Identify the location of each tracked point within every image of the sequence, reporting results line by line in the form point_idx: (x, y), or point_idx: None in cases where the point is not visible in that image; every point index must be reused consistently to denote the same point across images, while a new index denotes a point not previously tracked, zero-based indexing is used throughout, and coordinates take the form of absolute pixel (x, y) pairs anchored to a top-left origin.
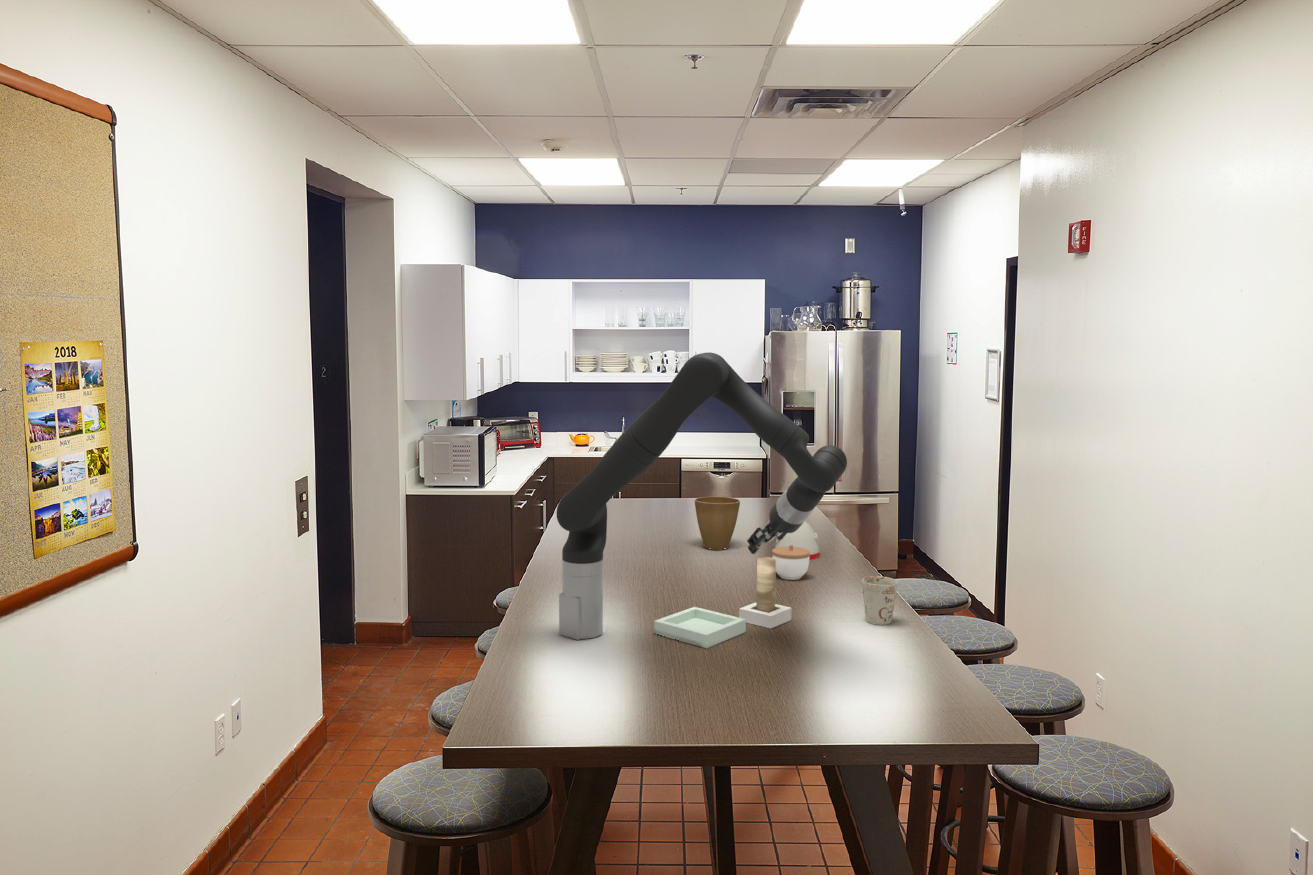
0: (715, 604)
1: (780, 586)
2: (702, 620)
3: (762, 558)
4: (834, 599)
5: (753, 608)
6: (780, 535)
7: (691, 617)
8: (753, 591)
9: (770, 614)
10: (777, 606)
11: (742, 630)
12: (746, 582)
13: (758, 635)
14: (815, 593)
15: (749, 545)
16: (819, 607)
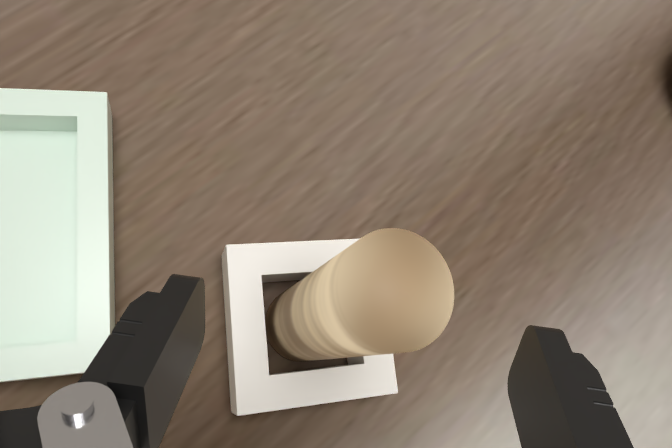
0: (315, 77)
1: (617, 126)
2: (66, 176)
3: (392, 256)
4: (657, 340)
5: (287, 274)
6: (527, 415)
7: (52, 128)
8: (517, 92)
9: (255, 396)
10: None
11: None
12: (565, 25)
13: None
14: (652, 252)
15: (161, 297)
16: None
